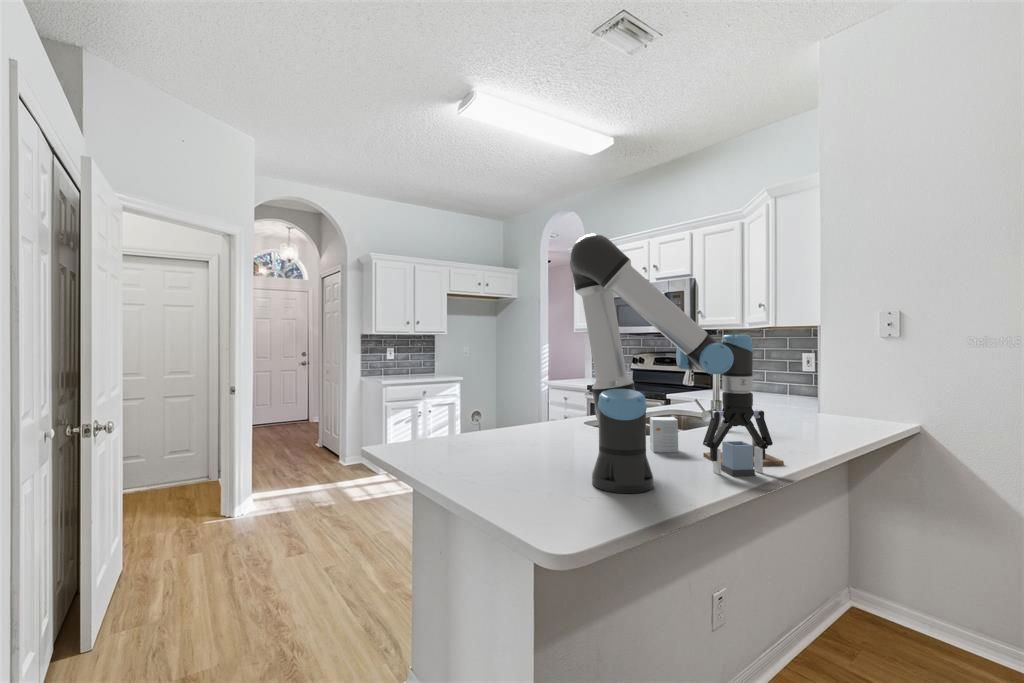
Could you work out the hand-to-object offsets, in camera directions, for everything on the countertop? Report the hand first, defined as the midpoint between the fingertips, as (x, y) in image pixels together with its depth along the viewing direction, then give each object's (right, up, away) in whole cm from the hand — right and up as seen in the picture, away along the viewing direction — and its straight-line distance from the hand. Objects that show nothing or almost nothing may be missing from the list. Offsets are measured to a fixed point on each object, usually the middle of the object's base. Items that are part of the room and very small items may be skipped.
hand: (737, 472), depth 134 cm
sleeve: (0, 0, 0) cm, 0 cm away
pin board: (+7, 0, +13) cm, 14 cm away
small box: (-12, 0, +26) cm, 29 cm away
